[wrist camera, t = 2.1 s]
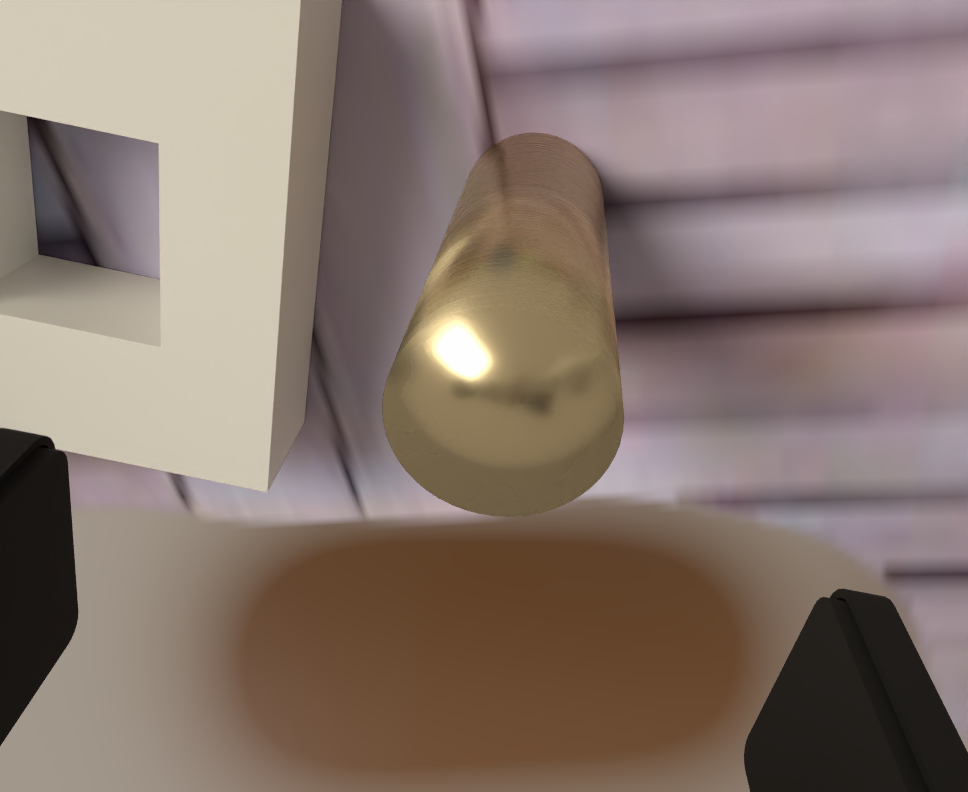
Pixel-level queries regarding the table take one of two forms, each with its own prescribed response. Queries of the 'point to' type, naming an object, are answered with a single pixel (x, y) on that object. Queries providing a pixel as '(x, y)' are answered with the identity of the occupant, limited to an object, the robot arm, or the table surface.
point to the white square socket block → (172, 230)
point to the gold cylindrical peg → (513, 340)
